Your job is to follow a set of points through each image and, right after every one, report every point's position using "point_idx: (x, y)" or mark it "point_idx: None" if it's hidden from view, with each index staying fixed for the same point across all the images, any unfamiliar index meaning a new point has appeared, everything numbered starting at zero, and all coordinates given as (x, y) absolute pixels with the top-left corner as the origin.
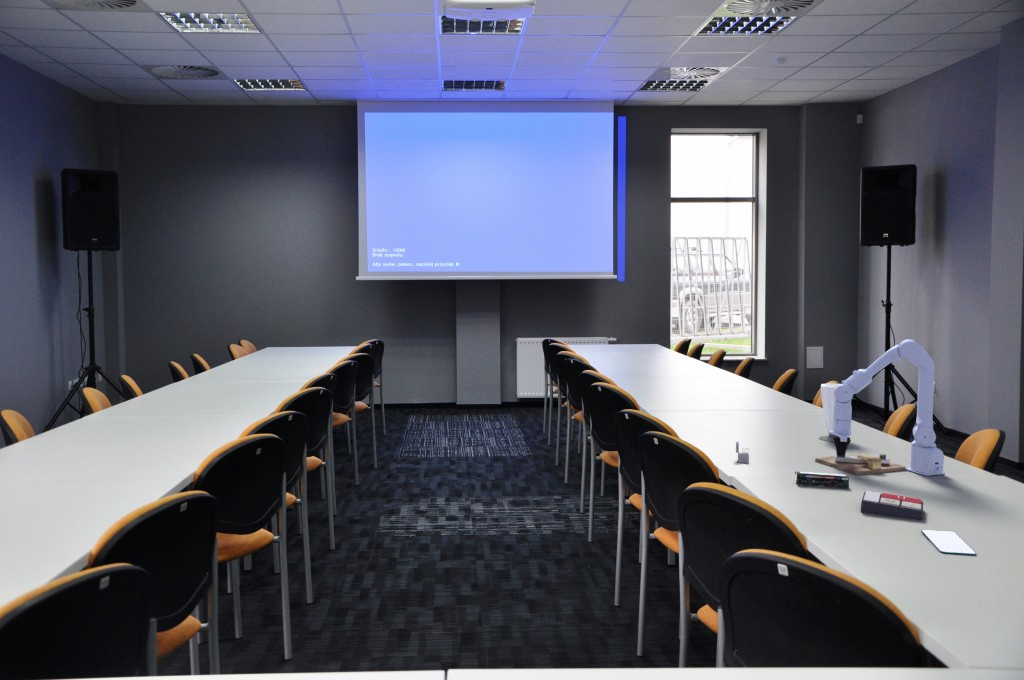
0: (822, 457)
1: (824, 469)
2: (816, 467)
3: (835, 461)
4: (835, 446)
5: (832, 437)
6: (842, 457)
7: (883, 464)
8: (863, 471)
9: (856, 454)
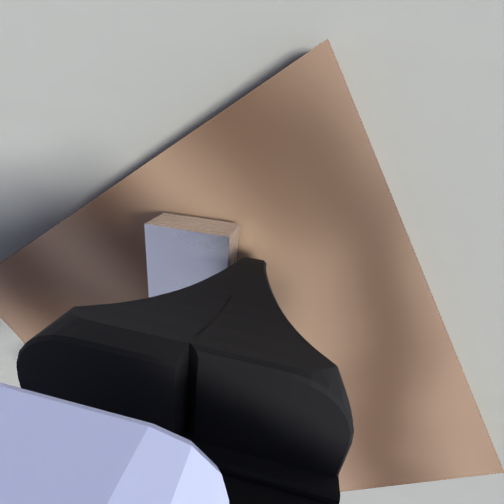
0: (357, 134)
1: (34, 85)
2: (73, 17)
3: (162, 213)
4: (269, 303)
5: (271, 371)
6: (155, 282)
7: None
8: (2, 314)
9: (482, 441)
